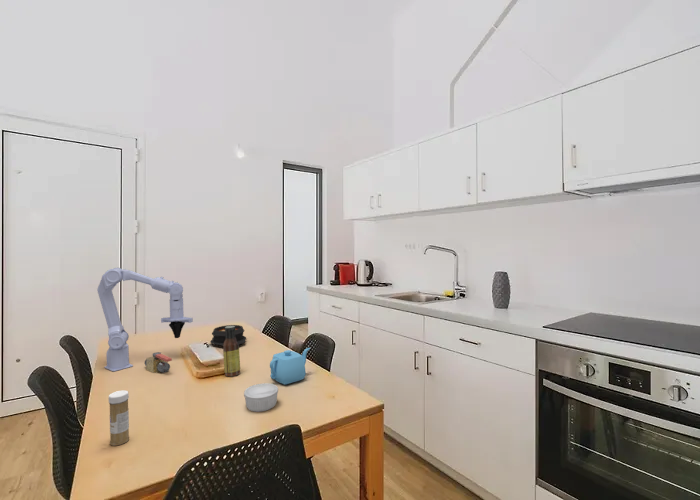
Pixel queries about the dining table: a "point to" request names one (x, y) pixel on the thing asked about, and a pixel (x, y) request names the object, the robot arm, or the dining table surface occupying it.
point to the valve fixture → (156, 365)
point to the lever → (162, 356)
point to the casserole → (220, 335)
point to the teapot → (288, 366)
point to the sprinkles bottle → (119, 417)
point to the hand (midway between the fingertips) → (177, 337)
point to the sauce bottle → (231, 353)
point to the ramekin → (261, 397)
